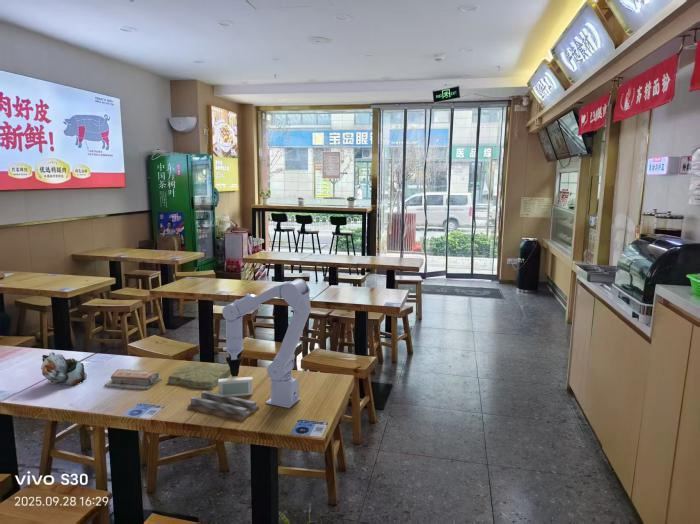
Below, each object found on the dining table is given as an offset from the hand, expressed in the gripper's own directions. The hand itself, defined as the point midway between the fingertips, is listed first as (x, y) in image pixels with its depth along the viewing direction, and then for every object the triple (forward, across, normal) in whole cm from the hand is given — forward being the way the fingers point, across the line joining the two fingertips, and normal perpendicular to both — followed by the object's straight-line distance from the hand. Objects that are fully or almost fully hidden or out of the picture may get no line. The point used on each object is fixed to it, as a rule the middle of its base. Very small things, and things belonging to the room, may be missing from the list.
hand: (235, 372), depth 171 cm
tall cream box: (+9, 0, 0) cm, 9 cm away
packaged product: (+9, -18, -38) cm, 44 cm away
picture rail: (+8, +11, -4) cm, 14 cm away
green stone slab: (+9, -18, -14) cm, 25 cm away
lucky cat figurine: (+9, -23, -64) cm, 69 cm away
